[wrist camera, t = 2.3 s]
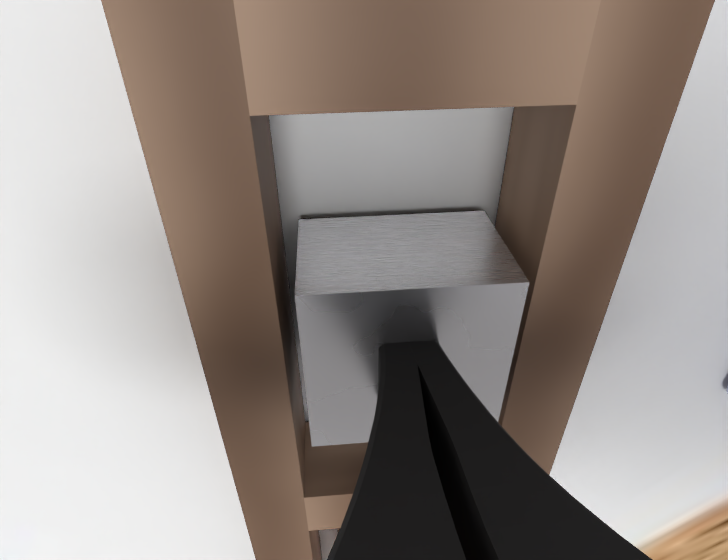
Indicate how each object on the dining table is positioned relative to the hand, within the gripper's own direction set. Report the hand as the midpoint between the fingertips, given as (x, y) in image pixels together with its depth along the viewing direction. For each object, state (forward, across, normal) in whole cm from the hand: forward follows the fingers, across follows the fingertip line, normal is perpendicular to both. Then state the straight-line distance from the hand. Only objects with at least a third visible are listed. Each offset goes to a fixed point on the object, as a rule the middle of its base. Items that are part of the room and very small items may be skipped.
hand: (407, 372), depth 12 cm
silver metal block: (+3, 0, 0) cm, 3 cm away
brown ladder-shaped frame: (+4, 0, +7) cm, 8 cm away
